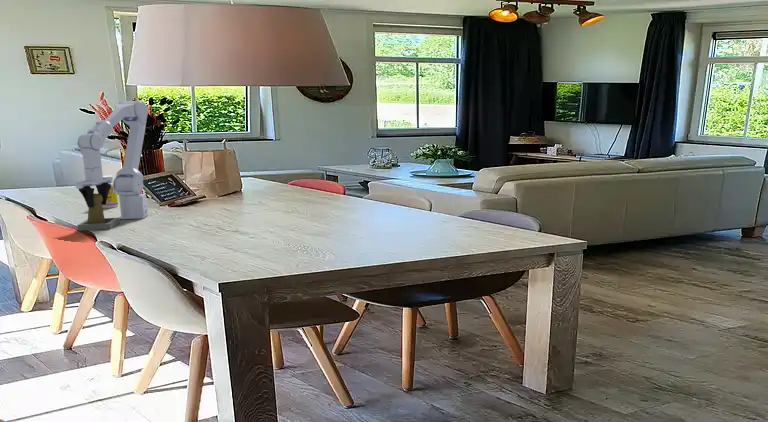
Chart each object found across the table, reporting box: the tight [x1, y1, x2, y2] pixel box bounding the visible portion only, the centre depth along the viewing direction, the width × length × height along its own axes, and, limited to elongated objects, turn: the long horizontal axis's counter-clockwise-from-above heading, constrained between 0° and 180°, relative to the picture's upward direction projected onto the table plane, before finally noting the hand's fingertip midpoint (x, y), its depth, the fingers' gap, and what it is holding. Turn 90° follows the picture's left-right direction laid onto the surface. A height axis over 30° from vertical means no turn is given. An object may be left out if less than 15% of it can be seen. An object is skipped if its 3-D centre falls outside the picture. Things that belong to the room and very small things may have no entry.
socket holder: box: [77, 217, 121, 232], centre depth 245 cm, size 11×11×2 cm
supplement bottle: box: [102, 175, 119, 209], centre depth 285 cm, size 7×7×13 cm
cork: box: [87, 193, 106, 224], centre depth 245 cm, size 6×6×11 cm
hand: (97, 205), depth 244 cm, fingers closed on cork, 5 cm apart
